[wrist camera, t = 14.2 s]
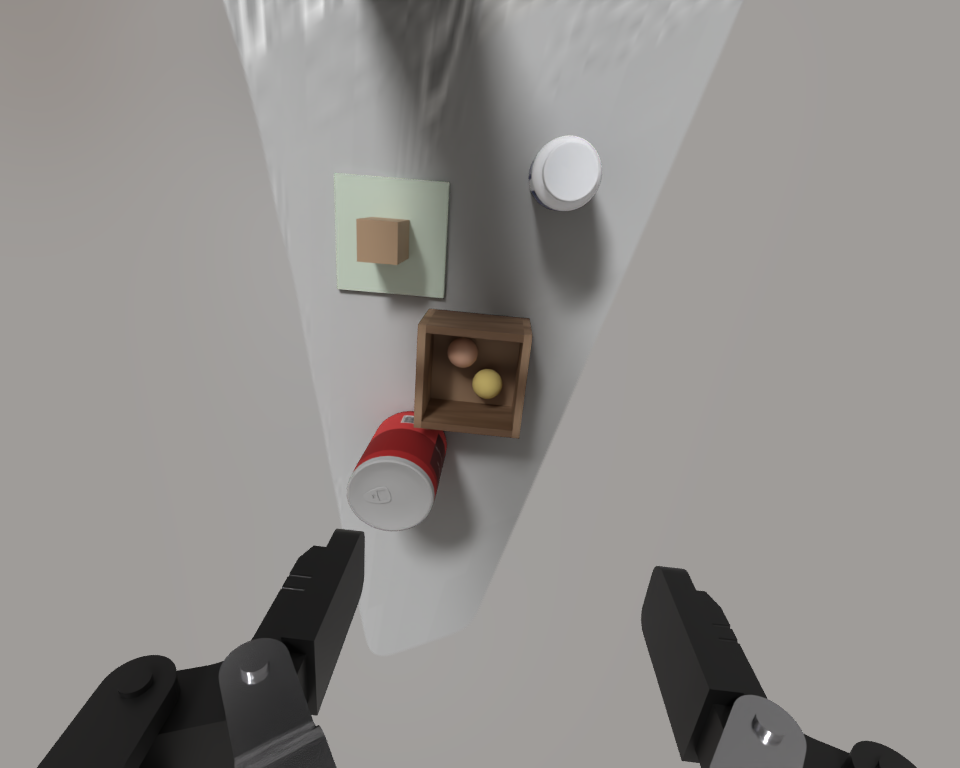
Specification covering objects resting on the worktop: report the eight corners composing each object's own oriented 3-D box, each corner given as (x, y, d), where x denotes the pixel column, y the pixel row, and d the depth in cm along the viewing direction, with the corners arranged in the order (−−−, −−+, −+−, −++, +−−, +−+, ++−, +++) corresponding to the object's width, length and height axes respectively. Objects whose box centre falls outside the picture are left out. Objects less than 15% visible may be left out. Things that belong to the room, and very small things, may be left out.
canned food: (363, 425, 54) (329, 479, 44) (426, 397, 52) (406, 445, 42) (398, 480, 56) (373, 544, 46) (459, 454, 55) (448, 514, 44)
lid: (337, 173, 45) (312, 169, 40) (450, 182, 45) (441, 180, 40) (340, 287, 49) (318, 298, 44) (444, 296, 49) (436, 308, 43)
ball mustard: (474, 363, 50) (472, 373, 47) (503, 366, 50) (503, 376, 47) (472, 390, 51) (470, 401, 48) (500, 393, 51) (500, 405, 48)
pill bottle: (594, 199, 45) (616, 199, 35) (537, 217, 45) (544, 222, 36) (581, 135, 43) (601, 119, 34) (521, 156, 44) (524, 144, 34)
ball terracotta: (450, 332, 49) (446, 340, 46) (480, 335, 49) (478, 343, 46) (448, 360, 50) (444, 370, 47) (477, 363, 50) (475, 373, 47)
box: (429, 308, 49) (418, 324, 43) (529, 318, 49) (532, 335, 43) (424, 400, 52) (413, 427, 46) (517, 410, 52) (519, 438, 46)
